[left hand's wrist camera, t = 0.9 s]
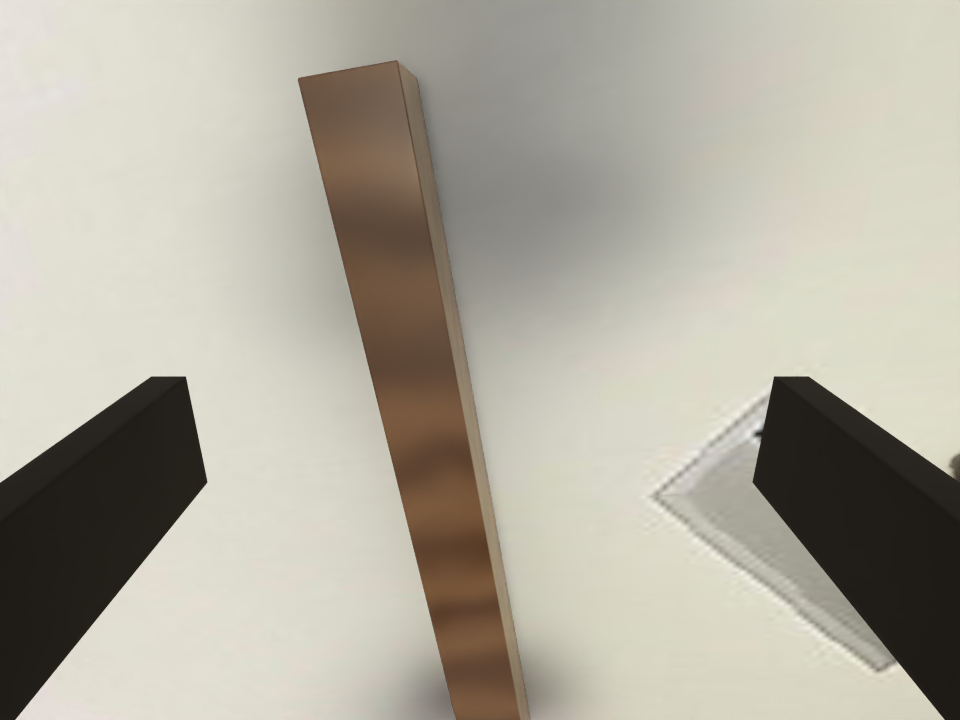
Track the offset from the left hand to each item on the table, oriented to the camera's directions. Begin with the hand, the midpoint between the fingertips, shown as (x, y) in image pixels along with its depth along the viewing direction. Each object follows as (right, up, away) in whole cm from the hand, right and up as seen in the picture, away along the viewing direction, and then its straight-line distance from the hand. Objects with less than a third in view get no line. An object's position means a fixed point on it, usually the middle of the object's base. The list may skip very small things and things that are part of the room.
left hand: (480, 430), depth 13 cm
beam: (-2, -7, +27) cm, 28 cm away
